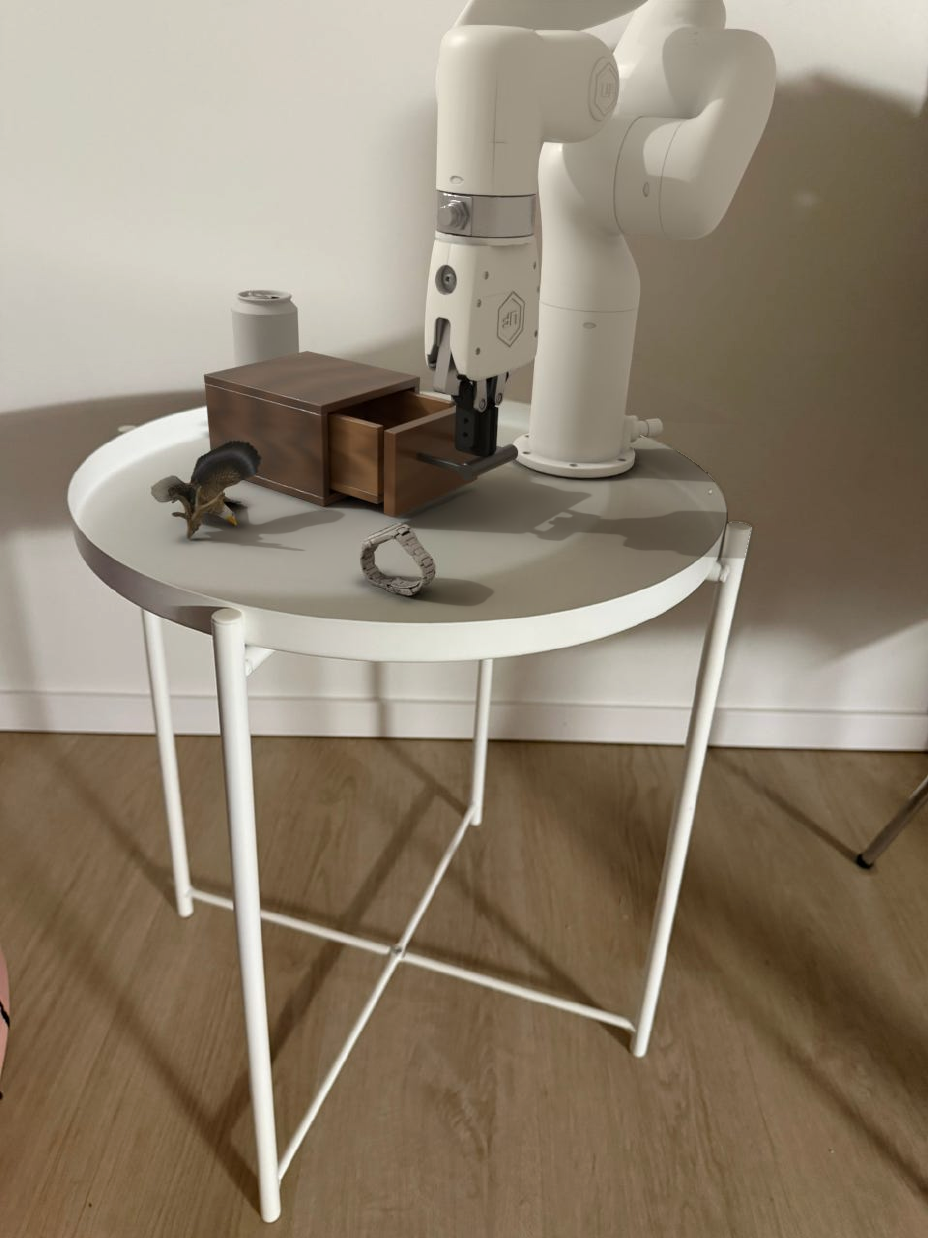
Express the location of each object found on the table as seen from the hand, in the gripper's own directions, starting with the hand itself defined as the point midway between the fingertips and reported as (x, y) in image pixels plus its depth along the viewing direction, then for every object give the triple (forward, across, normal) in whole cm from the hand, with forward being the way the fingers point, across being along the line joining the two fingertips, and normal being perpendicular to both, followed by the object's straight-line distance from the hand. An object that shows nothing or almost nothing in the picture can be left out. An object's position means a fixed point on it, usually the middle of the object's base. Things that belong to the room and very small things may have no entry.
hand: (475, 451), depth 81 cm
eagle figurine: (+6, -15, +16) cm, 23 cm away
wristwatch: (+6, -15, -4) cm, 17 cm away
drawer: (+5, 0, +8) cm, 9 cm away
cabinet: (+6, 0, +19) cm, 20 cm away
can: (+7, +15, +40) cm, 43 cm away
